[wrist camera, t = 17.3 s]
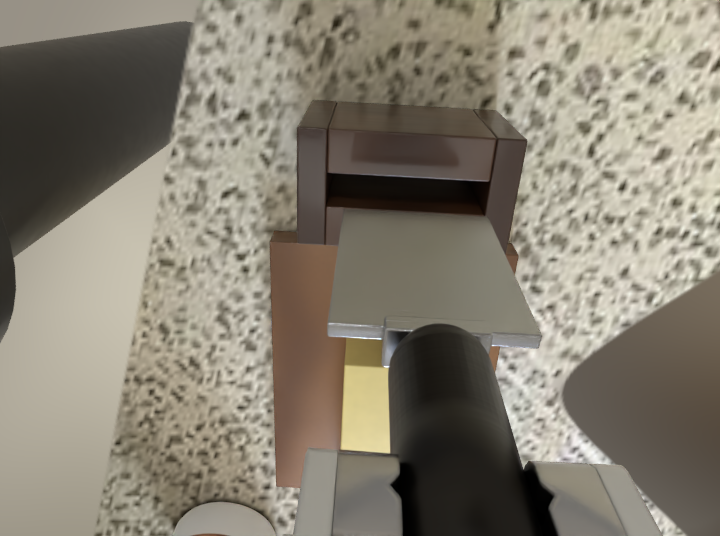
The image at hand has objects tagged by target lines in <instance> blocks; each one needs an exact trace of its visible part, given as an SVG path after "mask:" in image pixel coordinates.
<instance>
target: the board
mask: <svg viewBox="0 0 720 536" xmlns="http://www.w3.org/2000/svg"><path fill="white" fill-rule="evenodd" d="M337 252H338V246H330V245H313V244H298V243H297V232H288V231H274V233H273V236H272V238H271V240H270V270H271V308H272V345H273V382H274V420H275V457H276V486H277V487H294V488H300V487H301V480H302V474H303V467H304V461H305V455H306V452H307V449H308V447H310V448H322V449H334V450H338V455H339V449H340V448H341V426H342V405H343V383H344V363H345V351H346V337H329V336H328V335H327V323H328V316H329V309H330V302H331V295H332V288H333V280H334V273H335V266H336V259H337ZM505 255H506V258H507V260H508V262H509V264H510V266H511V269H512V271H513V273H514V275H515V271H516V266H517V261H518V257H519V256H518V254H517V252H516V250H515V248H514V246H513V245H512V244H508V246H507V251H506V254H505ZM499 350H500V346H491V349H490V354H489V357H490V359H491V362H492V365H493V368H494V372H495V370H496V365H497V360H498V355H499Z"/></svg>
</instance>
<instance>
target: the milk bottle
mask: <svg viewBox="0 0 720 536" xmlns="http://www.w3.org/2000/svg"><path fill="white" fill-rule="evenodd" d="M172 536H276V535H275V531H274V529H273V527H272V526H271V524H270V522H269V521H268V520H267V519H266V518H265V517H264V516H262V515H261V514H259V513H258V512H257V511H255V510H252V509H251V508H249V507H246V506H243V505H240V504H235V503H230V502H212V503H207V504H202V505H199V506H197V507H195V508H193V509H191V510H190V511H189V512H187V513H186V514H185V515H184V516H183V517H182V518H181V519H180V520H179V522H178V523H177V525H176V528H175V530H174V532H173V535H172Z"/></svg>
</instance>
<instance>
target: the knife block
mask: <svg viewBox="0 0 720 536" xmlns="http://www.w3.org/2000/svg"><path fill="white" fill-rule="evenodd" d="M526 146H527V139H526V138H524V137H523V136H522V135H521V134H520V133H519V132H518V131H517V130H516V129H515V128H514V127H513V126H512V125H511V124H510V123H509V122H508V121H507V120H506V119H505V118H503V117H502V116H501V115H500V114H499V113H498V112H497V111H496V110H478V109H474V110H472V109H460V108H442V107H425V106H407V105H389V104H371V103H354V102H336V101H320V100H313V101H312V103H311V104H310V106H309V108H308V110H307V111H306V113H305V115H304V117H303V118H302V120H301V122H300V124H299V125H298V127H297V243H298V244H313V245H330V246H338V245H339V237H340V230H341V223H342V216H343V209H345V208H346V209H363V210H381V211H398V212H416V213H433V214H451V215H468V216H486V217H488V218H489V220H490V222H491V225H492V227H493V229H494V231H495V233H496V236H497V238H498V240H499V242H500V244H501V247H502V249H503V251H504V253H505V254H506V251H507V246H508V241H509V236H510V230H511V225H512V220H513V215H514V209H515V204H516V199H517V194H518V188H519V183H520V178H521V173H522V167H523V162H524V157H525V152H526Z"/></svg>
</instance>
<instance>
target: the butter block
mask: <svg viewBox="0 0 720 536" xmlns="http://www.w3.org/2000/svg"><path fill="white" fill-rule="evenodd" d="M381 350H382V340H381V339H363V338H346V351H345V363H344V383H343V405H342V426H341V448H340V449H342V450H354V451H366V452H379V453H390V428H389V392H388V370H389V368H387V367H383V366H382V362H381Z"/></svg>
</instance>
